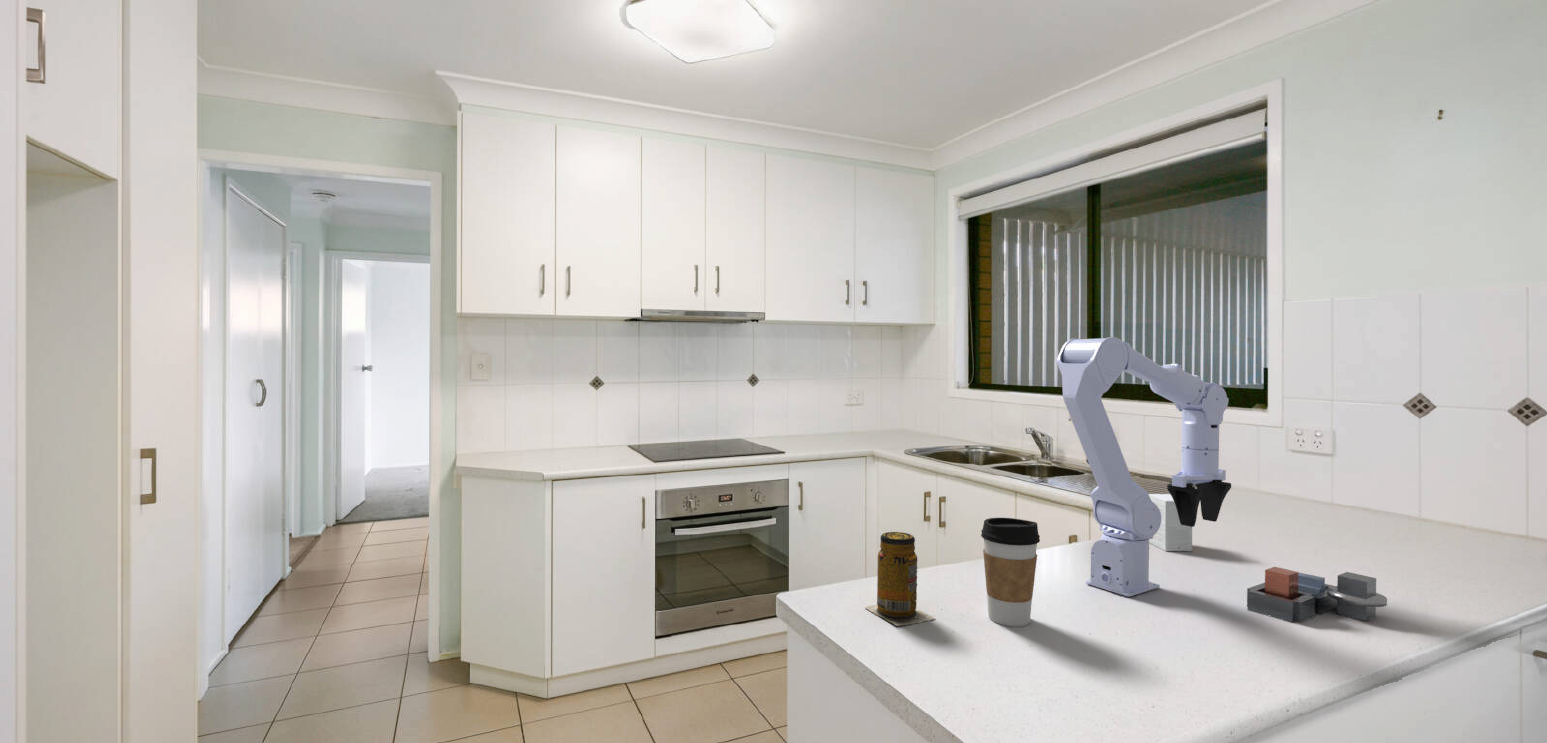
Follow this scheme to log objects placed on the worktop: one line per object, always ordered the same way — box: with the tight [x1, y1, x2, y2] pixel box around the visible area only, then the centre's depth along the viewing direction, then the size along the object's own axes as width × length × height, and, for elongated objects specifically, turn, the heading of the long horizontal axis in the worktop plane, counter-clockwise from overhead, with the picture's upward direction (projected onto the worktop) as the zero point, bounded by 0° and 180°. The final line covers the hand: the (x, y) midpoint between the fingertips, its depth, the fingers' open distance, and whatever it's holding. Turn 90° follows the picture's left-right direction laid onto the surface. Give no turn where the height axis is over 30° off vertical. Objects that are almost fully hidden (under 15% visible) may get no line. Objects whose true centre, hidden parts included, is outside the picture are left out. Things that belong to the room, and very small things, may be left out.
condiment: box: [864, 531, 936, 626], centre depth 103 cm, size 7×8×12 cm
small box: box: [1148, 493, 1193, 552], centre depth 142 cm, size 8×6×10 cm
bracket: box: [1298, 572, 1327, 595], centre depth 110 cm, size 4×6×4 cm, turn 38°
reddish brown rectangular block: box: [1264, 566, 1300, 600], centre depth 105 cm, size 3×3×6 cm
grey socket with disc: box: [1246, 571, 1388, 623], centre depth 105 cm, size 17×14×6 cm
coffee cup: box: [980, 517, 1041, 627], centre depth 101 cm, size 8×8×15 cm
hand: (1198, 523), depth 122 cm, fingers open, 7 cm apart
